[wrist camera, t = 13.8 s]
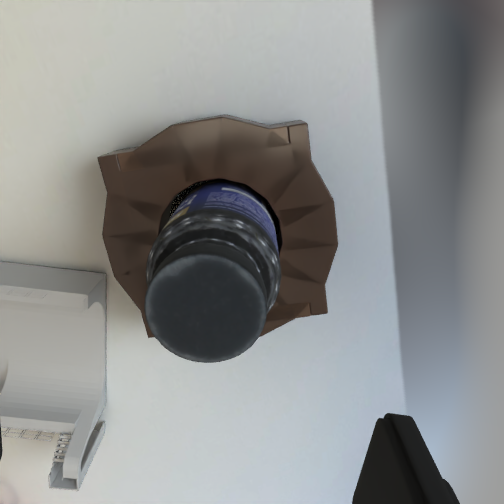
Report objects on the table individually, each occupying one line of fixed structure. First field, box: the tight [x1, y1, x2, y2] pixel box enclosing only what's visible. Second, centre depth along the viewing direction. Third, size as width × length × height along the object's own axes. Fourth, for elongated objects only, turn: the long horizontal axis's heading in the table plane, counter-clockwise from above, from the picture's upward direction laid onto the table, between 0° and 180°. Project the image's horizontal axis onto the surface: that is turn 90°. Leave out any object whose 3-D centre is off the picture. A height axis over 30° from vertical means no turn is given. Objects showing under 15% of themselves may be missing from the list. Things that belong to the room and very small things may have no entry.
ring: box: [98, 115, 338, 338], centre depth 24 cm, size 13×13×3 cm
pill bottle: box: [144, 179, 282, 363], centre depth 21 cm, size 6×6×11 cm
